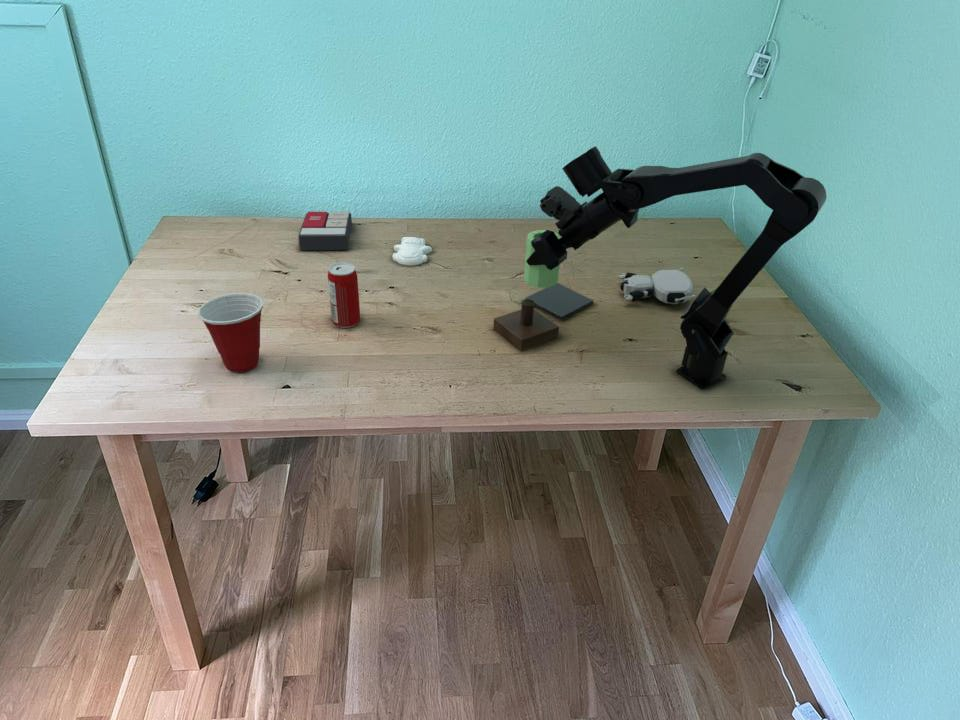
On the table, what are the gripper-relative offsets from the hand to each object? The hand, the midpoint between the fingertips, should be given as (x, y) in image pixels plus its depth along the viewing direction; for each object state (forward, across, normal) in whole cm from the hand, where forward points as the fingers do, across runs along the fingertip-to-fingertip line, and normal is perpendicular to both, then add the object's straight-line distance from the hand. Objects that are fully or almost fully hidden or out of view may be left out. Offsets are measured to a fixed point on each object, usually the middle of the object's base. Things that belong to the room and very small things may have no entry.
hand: (536, 256), depth 135 cm
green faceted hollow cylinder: (+2, 0, +4) cm, 5 cm away
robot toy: (-3, -23, +22) cm, 32 cm away
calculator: (+50, -3, -31) cm, 60 cm away
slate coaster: (+8, -8, +11) cm, 16 cm away
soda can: (+30, +23, -11) cm, 39 cm away
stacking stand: (+8, +6, +11) cm, 15 cm away
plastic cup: (+34, +44, -15) cm, 58 cm away
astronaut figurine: (+35, -8, -16) cm, 40 cm away
